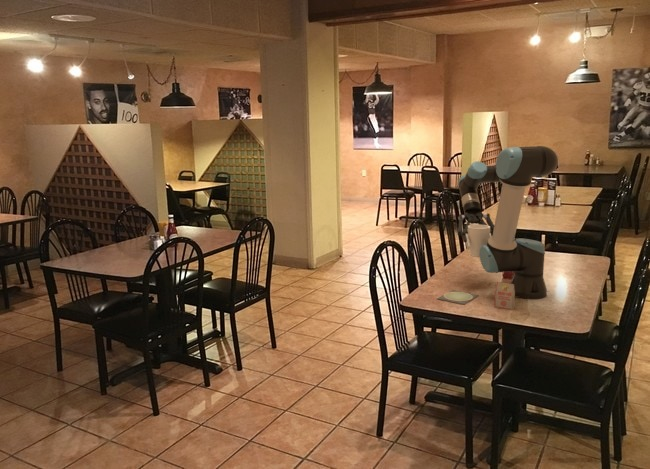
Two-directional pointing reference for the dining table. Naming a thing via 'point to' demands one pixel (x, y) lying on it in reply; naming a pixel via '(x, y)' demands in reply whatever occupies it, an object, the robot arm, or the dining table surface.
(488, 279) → the dining table surface
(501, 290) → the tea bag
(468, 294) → the square coaster
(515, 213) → the robot arm
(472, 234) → the foam cup
